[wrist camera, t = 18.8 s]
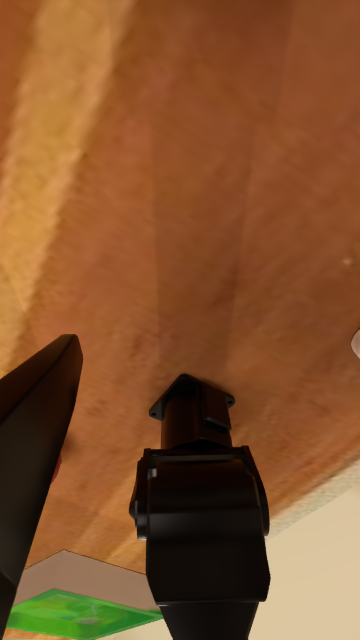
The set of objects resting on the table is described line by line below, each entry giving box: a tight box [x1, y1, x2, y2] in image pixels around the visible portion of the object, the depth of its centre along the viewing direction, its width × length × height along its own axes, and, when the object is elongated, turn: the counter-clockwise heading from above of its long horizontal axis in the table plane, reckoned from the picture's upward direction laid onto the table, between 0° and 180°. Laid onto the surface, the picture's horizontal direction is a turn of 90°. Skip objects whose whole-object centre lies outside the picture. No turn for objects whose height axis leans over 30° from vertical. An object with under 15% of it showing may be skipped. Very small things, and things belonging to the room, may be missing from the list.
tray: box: [6, 550, 164, 640], centre depth 57 cm, size 25×25×5 cm
